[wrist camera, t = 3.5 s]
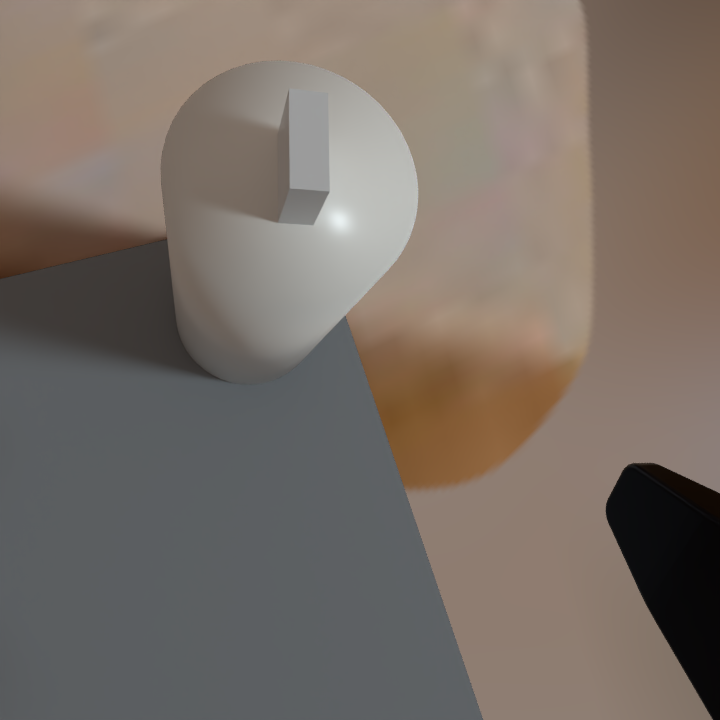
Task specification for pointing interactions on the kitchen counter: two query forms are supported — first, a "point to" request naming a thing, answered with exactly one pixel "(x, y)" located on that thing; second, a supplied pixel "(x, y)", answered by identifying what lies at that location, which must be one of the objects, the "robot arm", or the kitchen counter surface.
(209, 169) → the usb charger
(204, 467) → the desk mat
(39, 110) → the kitchen counter surface
